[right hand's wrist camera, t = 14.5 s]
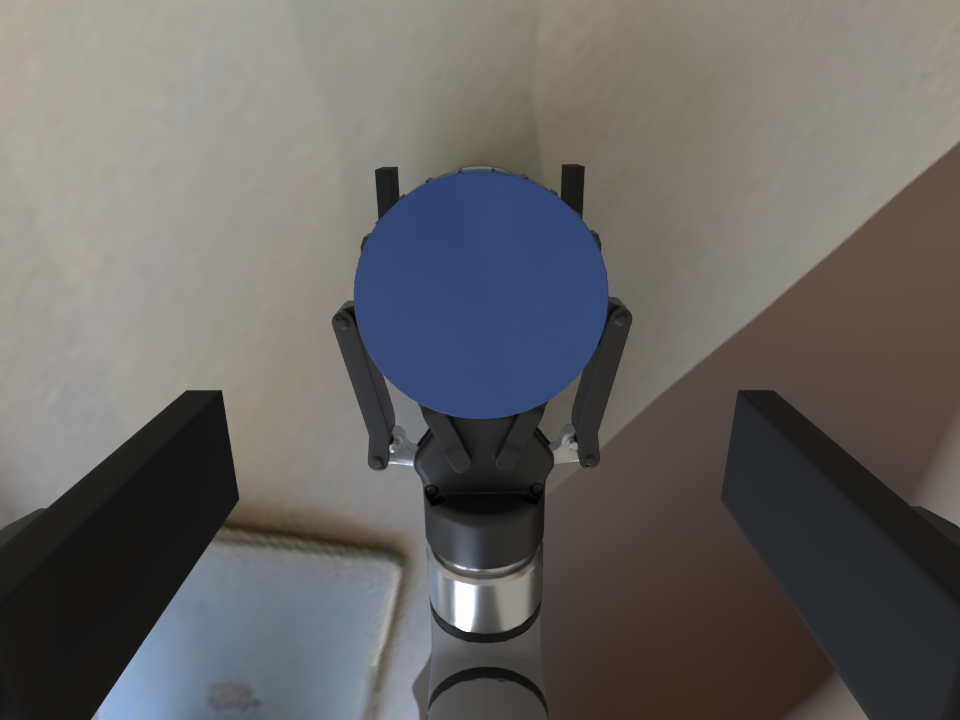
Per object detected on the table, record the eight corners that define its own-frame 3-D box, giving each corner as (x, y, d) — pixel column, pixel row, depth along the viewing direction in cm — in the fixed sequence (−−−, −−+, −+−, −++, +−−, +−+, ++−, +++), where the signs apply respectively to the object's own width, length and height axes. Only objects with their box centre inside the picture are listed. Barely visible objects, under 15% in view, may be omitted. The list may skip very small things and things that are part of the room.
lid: (318, 229, 24) (304, 237, 22) (548, 122, 23) (555, 121, 21) (424, 431, 27) (420, 454, 25) (631, 348, 26) (644, 366, 24)
